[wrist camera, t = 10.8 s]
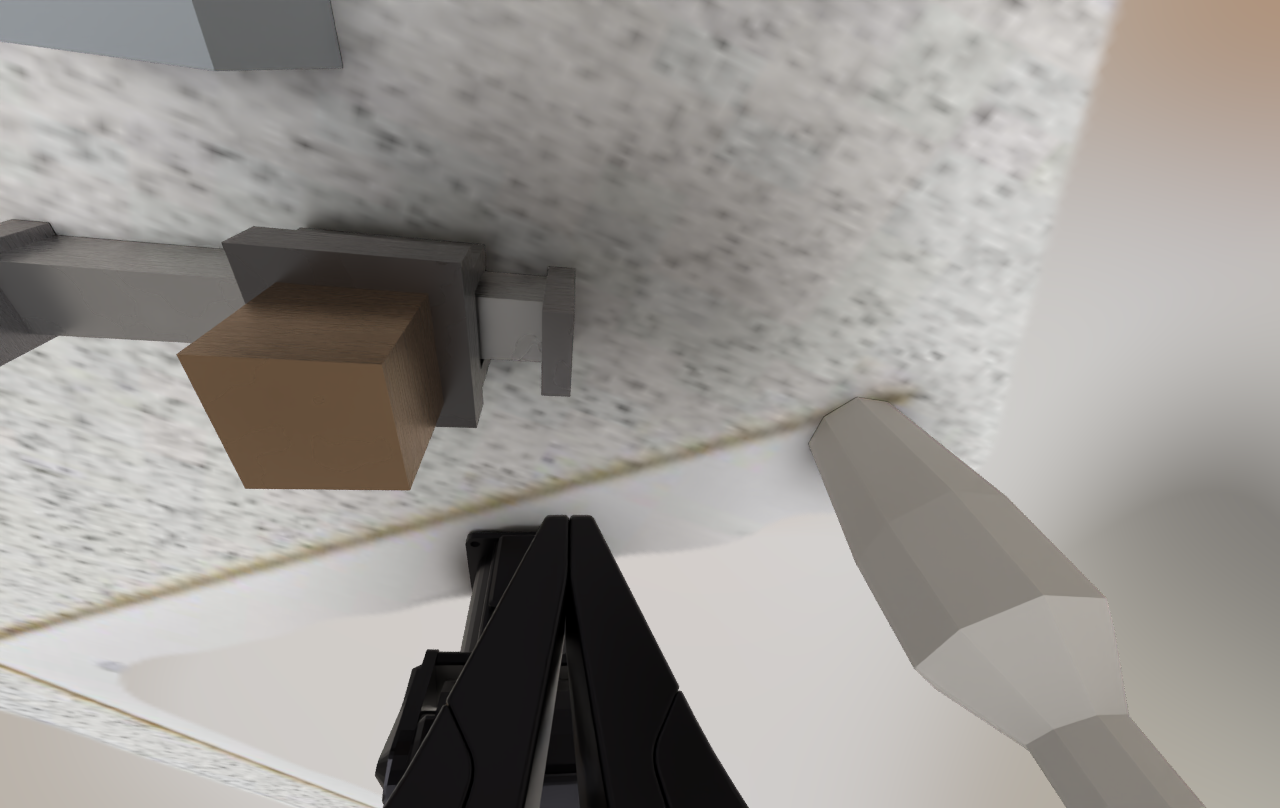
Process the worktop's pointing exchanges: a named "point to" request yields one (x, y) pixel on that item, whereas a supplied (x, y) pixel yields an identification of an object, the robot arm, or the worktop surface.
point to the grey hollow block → (182, 31)
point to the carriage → (341, 356)
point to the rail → (227, 298)
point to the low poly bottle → (990, 607)
